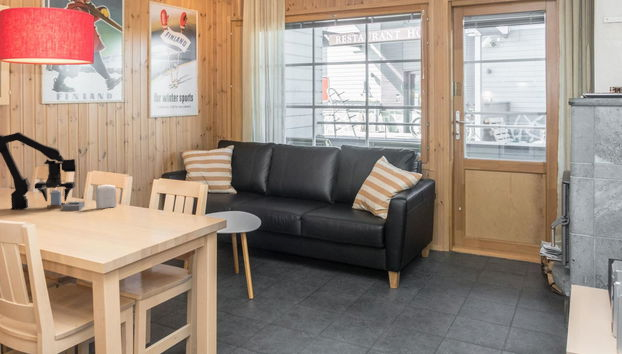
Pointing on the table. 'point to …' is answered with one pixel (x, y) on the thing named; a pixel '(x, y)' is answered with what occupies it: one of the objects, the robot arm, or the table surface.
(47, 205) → the holster
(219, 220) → the table surface
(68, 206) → the port
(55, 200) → the plug
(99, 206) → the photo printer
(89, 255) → the table surface
